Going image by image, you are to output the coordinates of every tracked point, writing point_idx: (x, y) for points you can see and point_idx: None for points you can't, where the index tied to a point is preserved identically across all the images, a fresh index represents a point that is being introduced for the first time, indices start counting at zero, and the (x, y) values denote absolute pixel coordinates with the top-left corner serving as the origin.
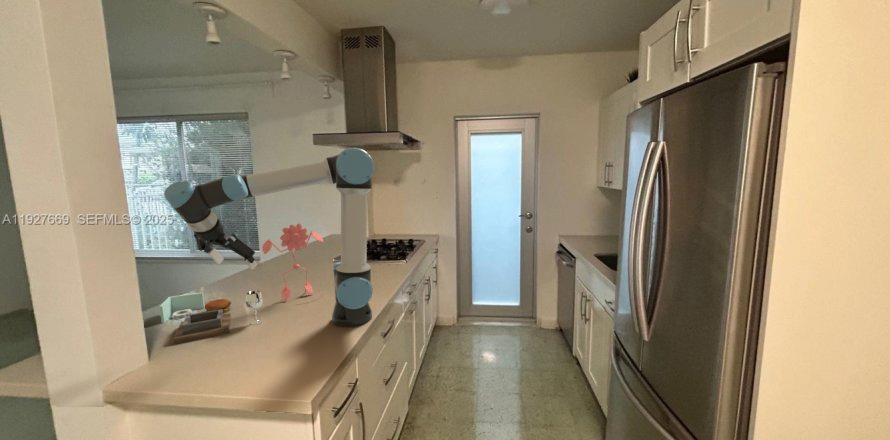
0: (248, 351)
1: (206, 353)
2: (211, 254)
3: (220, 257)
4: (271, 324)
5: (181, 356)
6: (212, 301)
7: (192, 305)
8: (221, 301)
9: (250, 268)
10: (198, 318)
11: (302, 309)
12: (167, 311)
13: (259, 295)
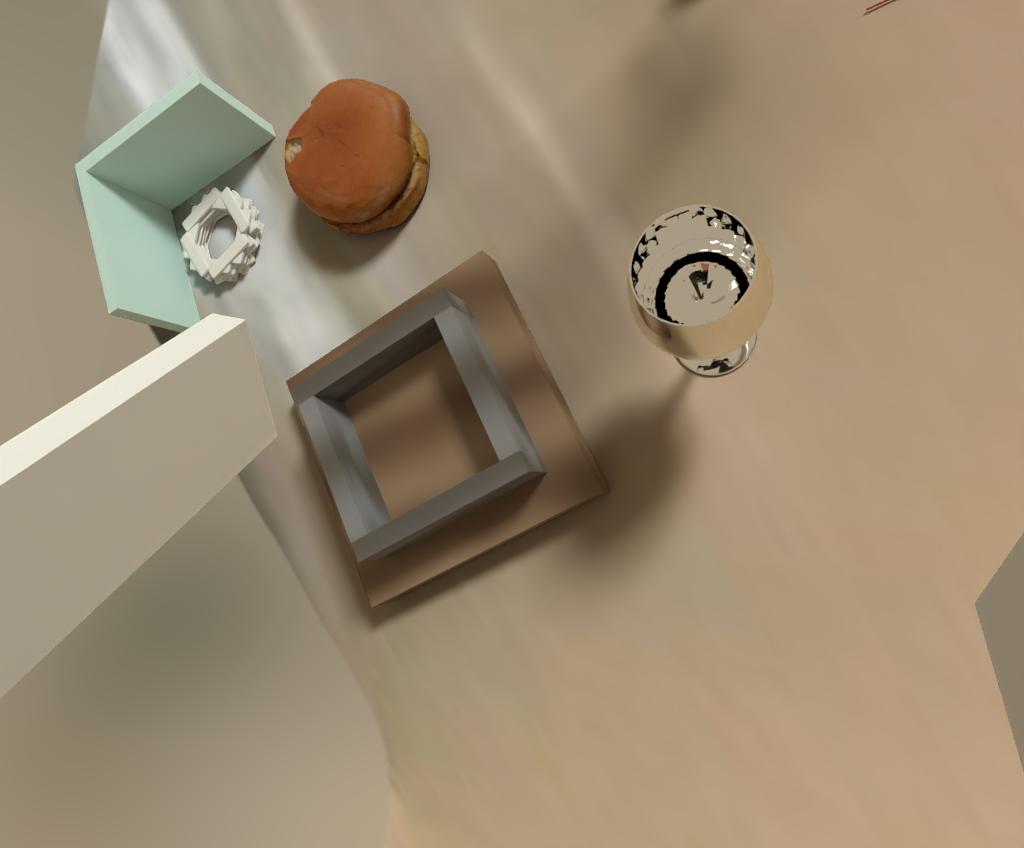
0: (919, 811)
1: (633, 765)
2: (20, 658)
3: (190, 399)
4: (857, 375)
5: (512, 767)
6: (303, 137)
7: (215, 152)
8: (358, 139)
9: (994, 649)
10: (361, 380)
11: (999, 80)
12: (155, 263)
13: (763, 282)
